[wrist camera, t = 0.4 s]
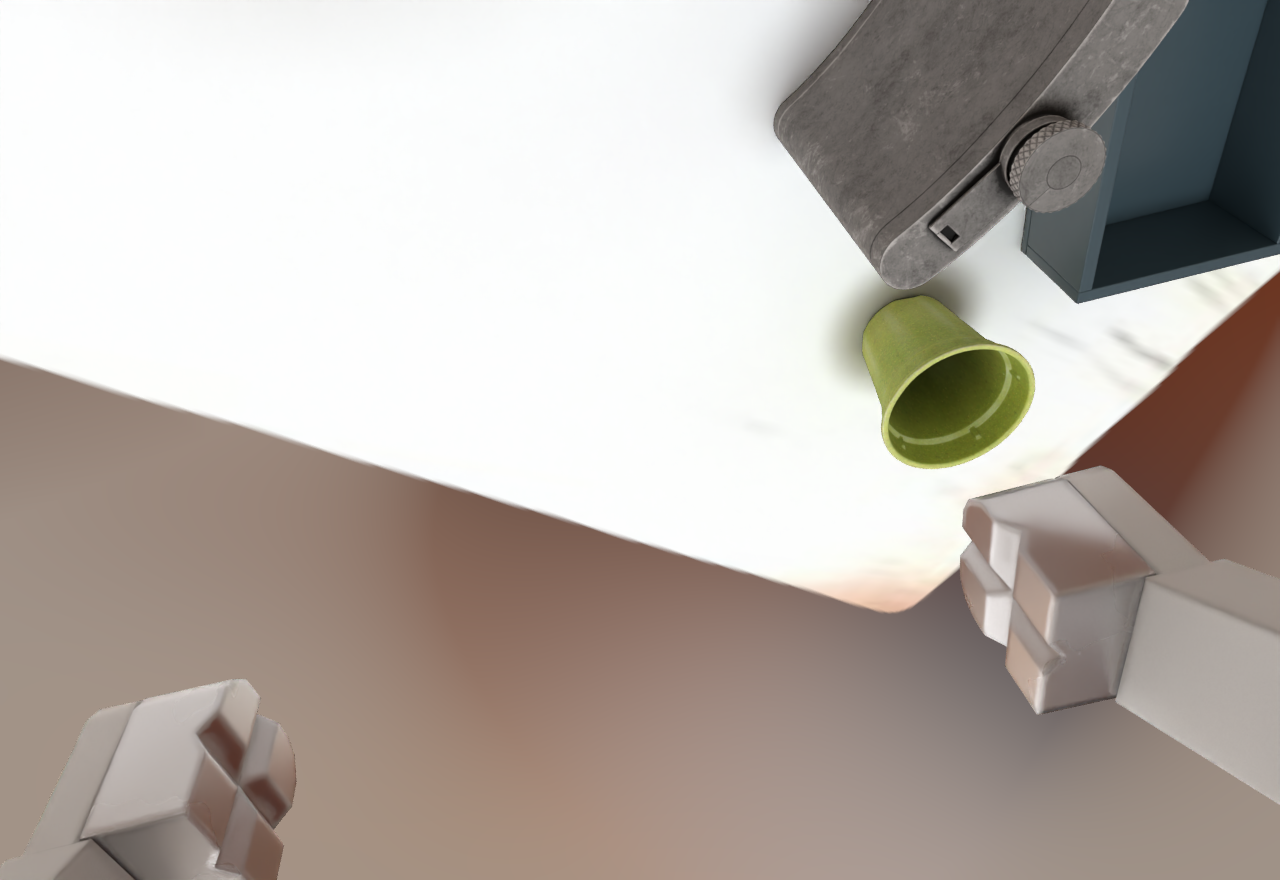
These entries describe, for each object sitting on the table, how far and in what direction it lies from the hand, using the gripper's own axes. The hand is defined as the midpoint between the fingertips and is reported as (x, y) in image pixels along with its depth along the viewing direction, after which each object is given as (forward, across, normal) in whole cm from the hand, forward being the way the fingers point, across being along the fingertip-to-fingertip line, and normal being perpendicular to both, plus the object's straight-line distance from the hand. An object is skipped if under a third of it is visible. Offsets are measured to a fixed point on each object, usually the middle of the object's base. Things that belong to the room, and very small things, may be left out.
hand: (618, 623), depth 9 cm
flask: (+39, -18, +3) cm, 43 cm away
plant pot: (+41, -21, +23) cm, 52 cm away
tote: (+39, -34, +8) cm, 53 cm away
